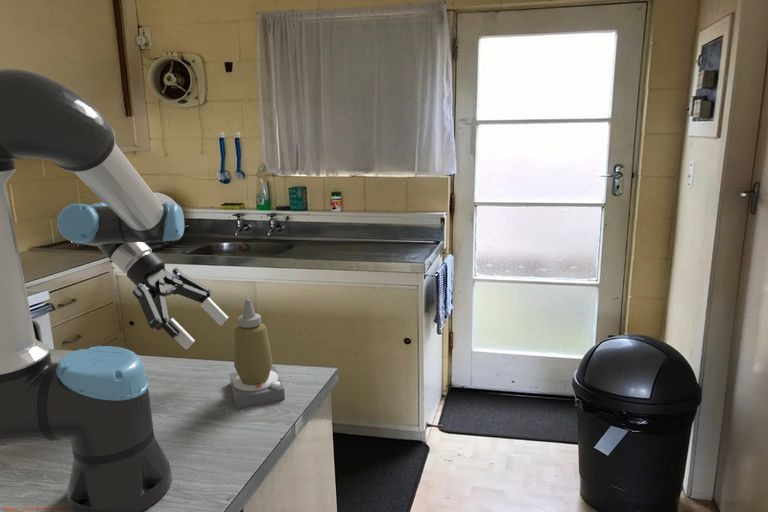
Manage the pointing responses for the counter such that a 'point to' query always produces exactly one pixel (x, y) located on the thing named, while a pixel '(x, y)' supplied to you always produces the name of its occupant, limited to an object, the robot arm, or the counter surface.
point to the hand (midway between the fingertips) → (208, 333)
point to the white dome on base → (257, 390)
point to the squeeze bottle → (252, 348)
